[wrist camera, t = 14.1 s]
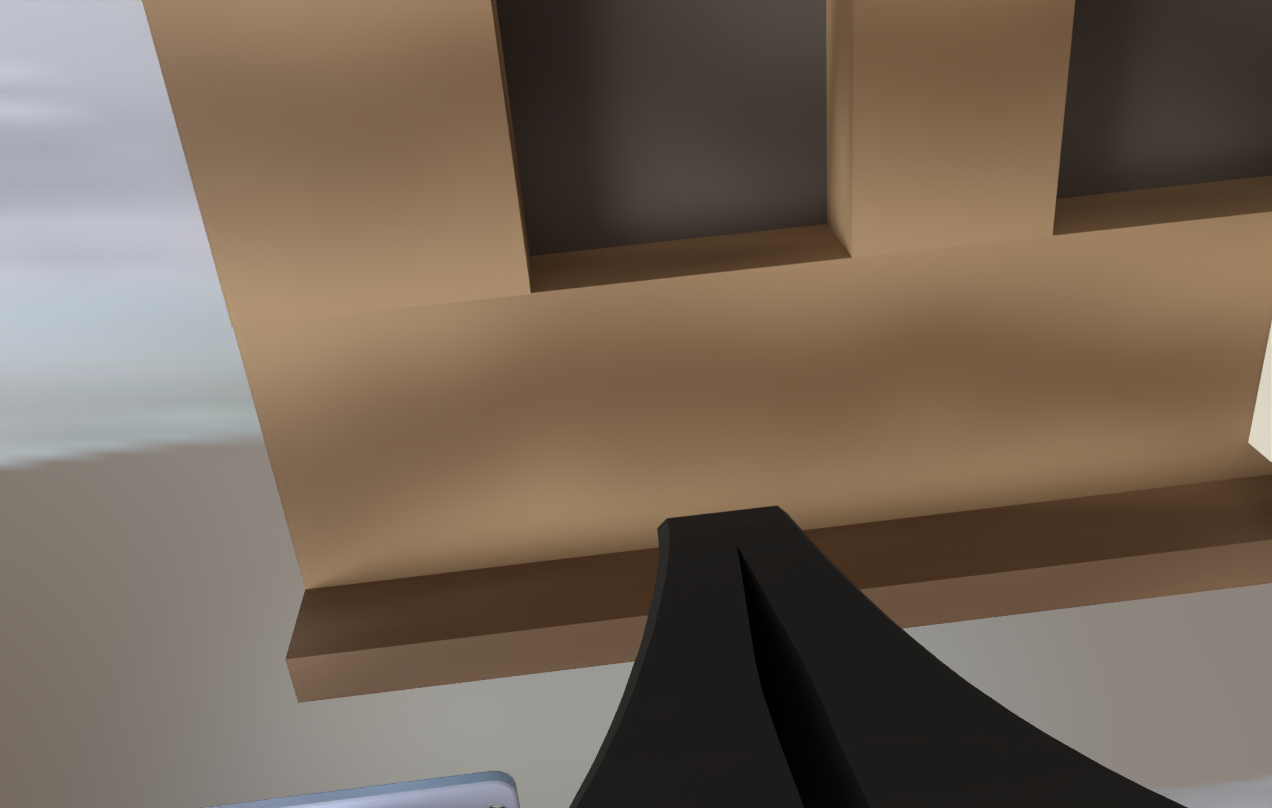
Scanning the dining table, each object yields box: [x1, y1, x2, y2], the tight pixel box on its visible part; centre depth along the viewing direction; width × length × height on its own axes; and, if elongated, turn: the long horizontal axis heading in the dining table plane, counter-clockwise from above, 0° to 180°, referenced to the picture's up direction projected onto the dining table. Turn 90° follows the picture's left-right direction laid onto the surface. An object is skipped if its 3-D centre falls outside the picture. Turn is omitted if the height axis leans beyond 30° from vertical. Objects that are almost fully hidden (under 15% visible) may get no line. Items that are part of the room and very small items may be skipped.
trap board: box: [142, 0, 1272, 702], centre depth 19 cm, size 13×25×4 cm, turn 95°
